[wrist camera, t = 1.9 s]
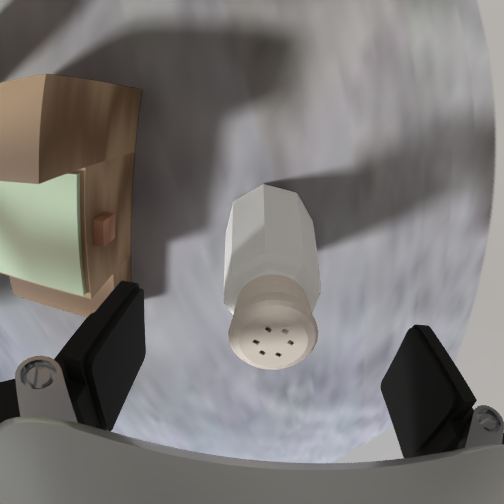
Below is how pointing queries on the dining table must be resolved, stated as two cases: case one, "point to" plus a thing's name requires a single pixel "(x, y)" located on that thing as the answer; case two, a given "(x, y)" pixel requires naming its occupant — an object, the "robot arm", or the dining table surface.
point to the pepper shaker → (271, 278)
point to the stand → (66, 188)
